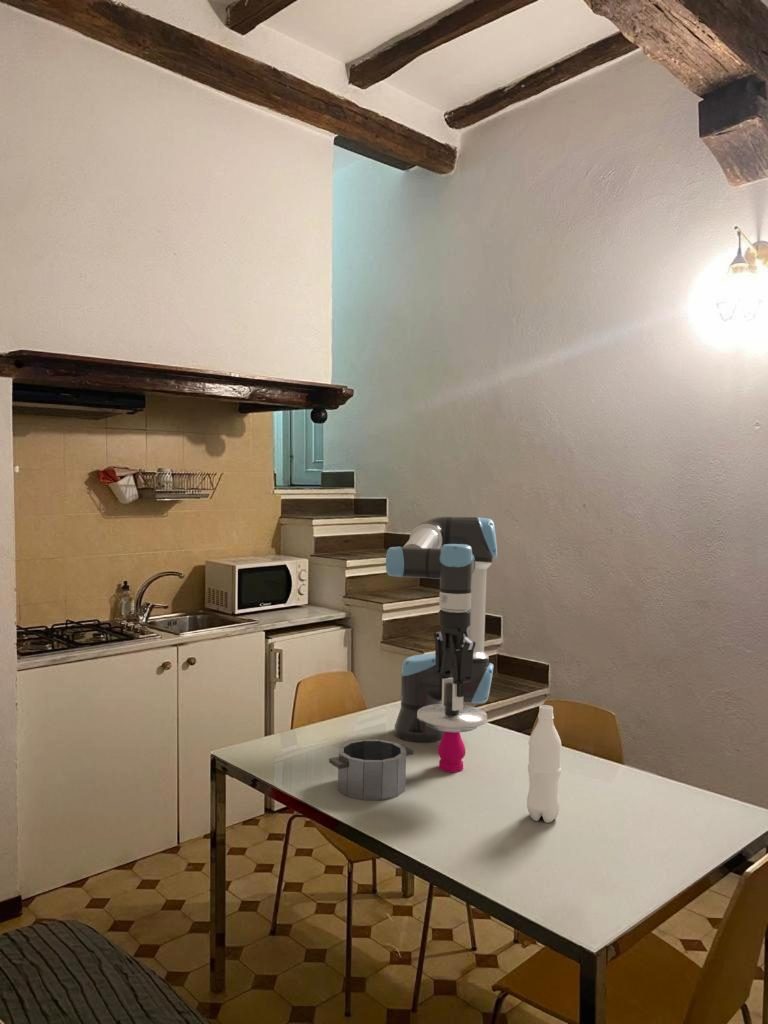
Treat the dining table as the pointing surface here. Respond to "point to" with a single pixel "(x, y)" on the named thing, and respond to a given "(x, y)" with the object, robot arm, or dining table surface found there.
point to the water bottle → (544, 767)
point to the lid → (451, 715)
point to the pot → (371, 769)
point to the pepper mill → (451, 752)
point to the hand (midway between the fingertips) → (452, 707)
